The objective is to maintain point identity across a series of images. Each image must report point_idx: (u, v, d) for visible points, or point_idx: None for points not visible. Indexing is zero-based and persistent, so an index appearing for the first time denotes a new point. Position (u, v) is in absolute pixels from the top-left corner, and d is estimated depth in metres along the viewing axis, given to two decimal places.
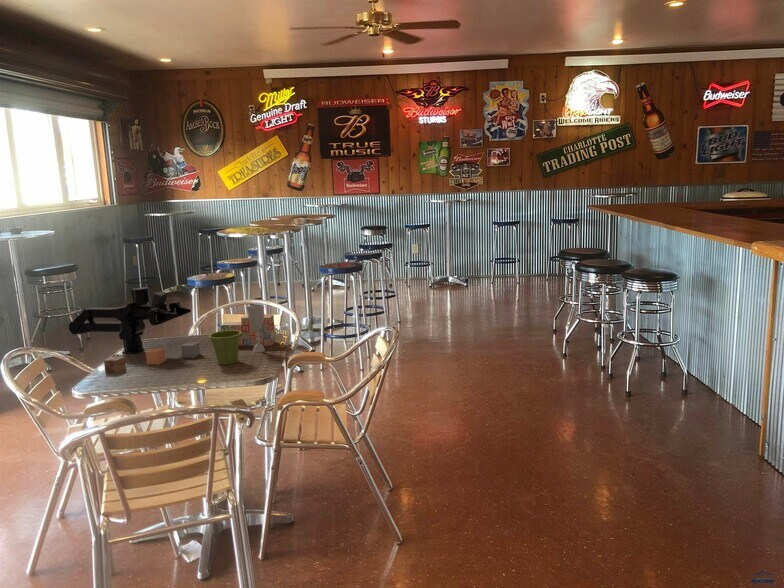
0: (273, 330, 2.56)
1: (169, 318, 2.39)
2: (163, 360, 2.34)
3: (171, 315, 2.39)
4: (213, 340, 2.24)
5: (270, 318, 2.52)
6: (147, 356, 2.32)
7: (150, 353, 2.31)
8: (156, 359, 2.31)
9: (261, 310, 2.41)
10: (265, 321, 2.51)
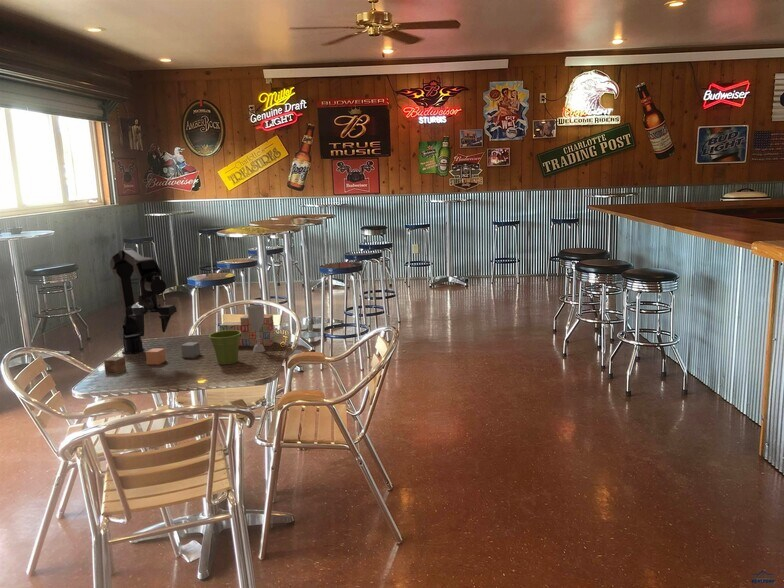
0: (272, 330, 2.56)
1: None
2: (163, 360, 2.34)
3: None
4: (213, 340, 2.24)
5: (269, 318, 2.52)
6: (147, 356, 2.32)
7: (150, 353, 2.31)
8: (156, 359, 2.31)
9: (261, 310, 2.41)
10: (265, 321, 2.51)
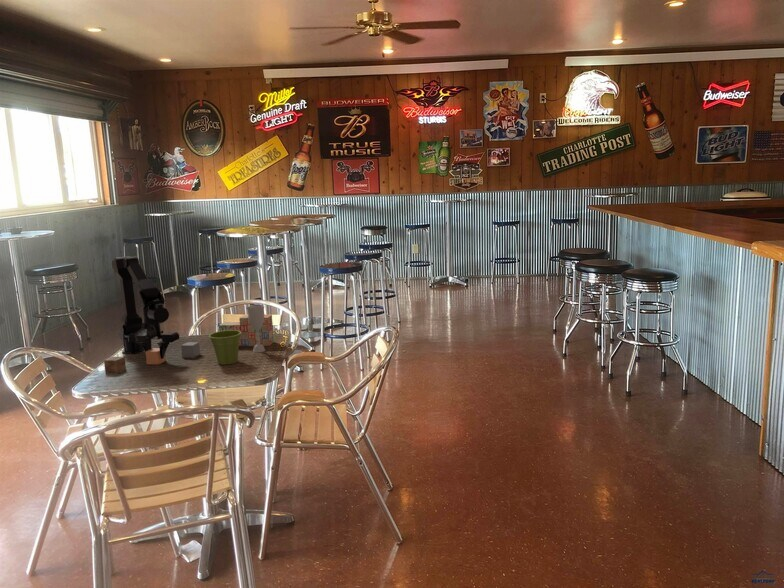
0: (271, 330, 2.56)
1: None
2: (163, 359, 2.34)
3: None
4: (213, 340, 2.24)
5: (268, 318, 2.52)
6: (147, 356, 2.32)
7: (150, 353, 2.31)
8: (156, 359, 2.31)
9: (261, 310, 2.41)
10: (264, 321, 2.51)
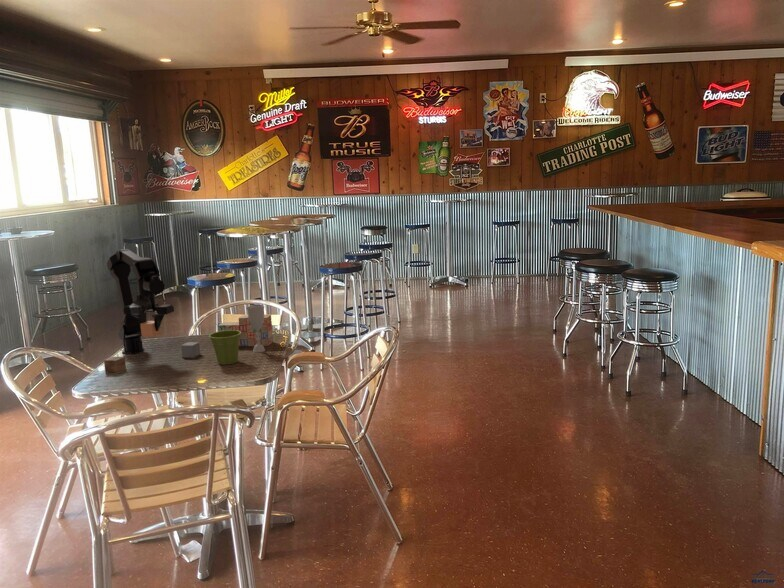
0: (271, 330, 2.56)
1: None
2: (158, 332, 2.36)
3: None
4: (213, 340, 2.24)
5: (268, 318, 2.52)
6: (142, 328, 2.33)
7: (145, 325, 2.32)
8: (151, 331, 2.32)
9: (261, 310, 2.41)
10: (263, 321, 2.51)
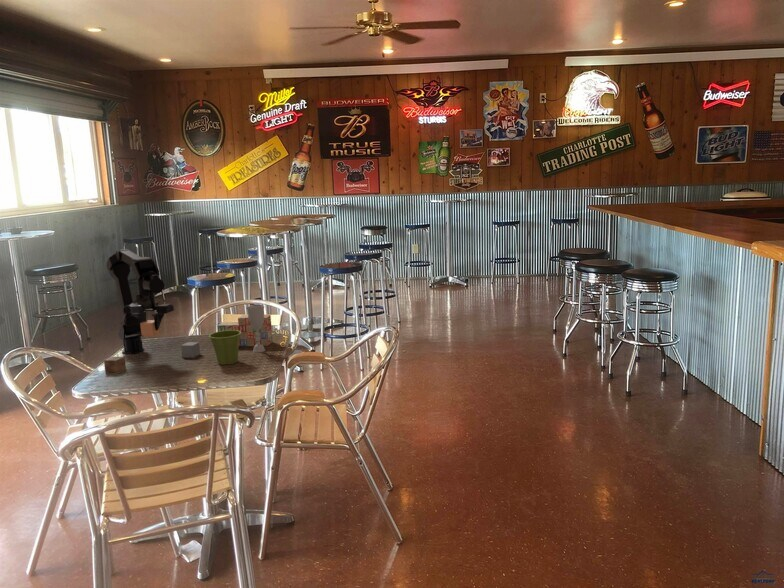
0: (270, 330, 2.56)
1: None
2: (157, 331, 2.36)
3: None
4: (213, 340, 2.24)
5: (267, 318, 2.52)
6: (142, 327, 2.33)
7: (145, 324, 2.33)
8: (151, 330, 2.33)
9: (261, 310, 2.41)
10: None
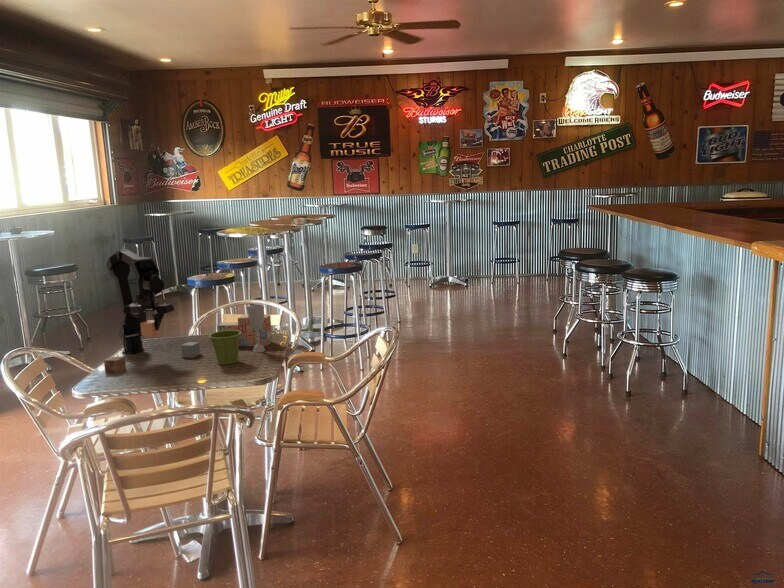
0: (270, 330, 2.56)
1: None
2: (157, 331, 2.36)
3: None
4: (213, 340, 2.24)
5: (267, 318, 2.52)
6: (142, 327, 2.33)
7: (145, 324, 2.33)
8: (151, 330, 2.33)
9: (261, 310, 2.41)
10: None
